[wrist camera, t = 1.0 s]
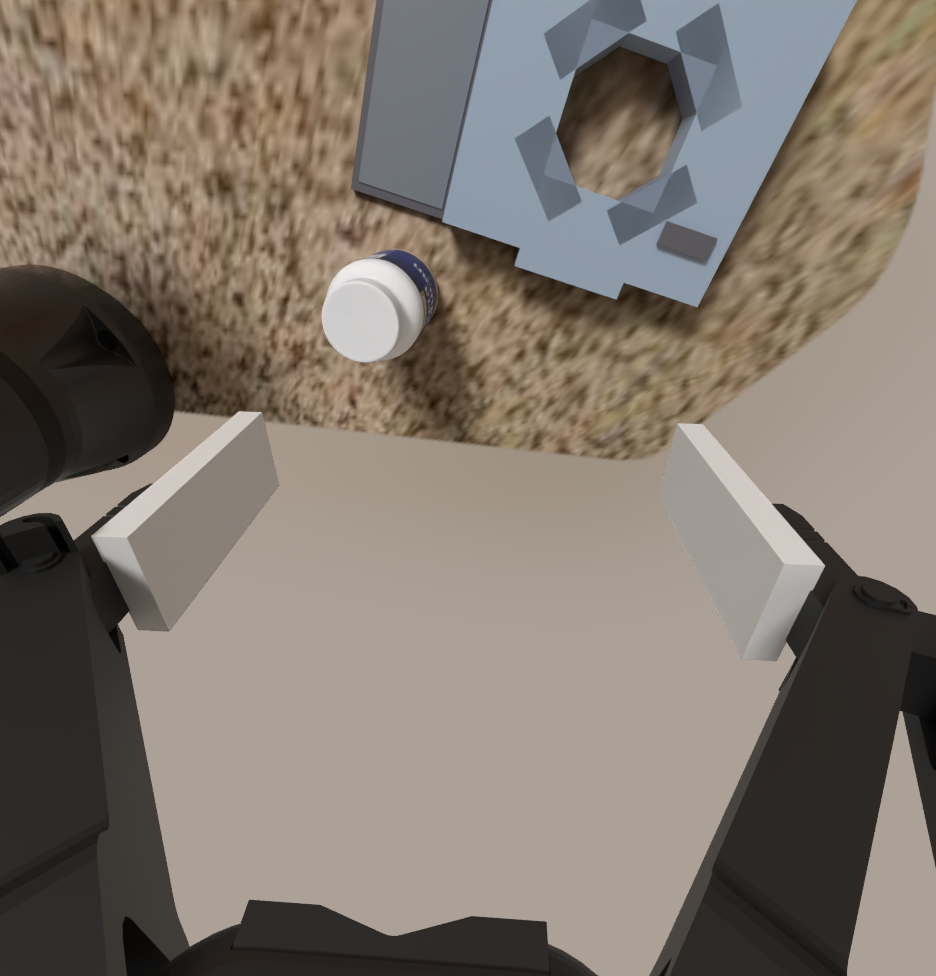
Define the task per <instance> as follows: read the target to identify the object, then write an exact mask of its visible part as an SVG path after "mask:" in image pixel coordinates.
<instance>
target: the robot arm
mask: <svg viewBox="0 0 936 976" xmlns="http://www.w3.org/2000/svg"><path fill="white" fill-rule="evenodd" d="M173 414H174V393H173V387H172V382H171V378H170V375H169V372H168V369H167V367H166V364H165V362H164V360H163V358H162V356H161V354H160V352H159V350H158V348H157V347H156V345H155V343H154V342H153V340H152V339H151V337H150V336H149V335H148V333H147V332H146V331H145V329H144V328H143V327H142V326H141V324H140V323H139V322H138V321H137V320H136V319H135V318H134V316H133V315H132V314H131V313H130V312H129V311H128V310H127V309H126V308H124V307H123V306H122V305H121V304H120V303H119V302H118V301H116V300H115V299H114V298H113V297H111V296H110V295H109V294H107V293H106V292H105V291H103V290H102V289H100V288H99V287H97V286H95V285H94V284H92V283H90V282H88V281H87V280H85V279H83V278H81V277H79V276H76V275H74V274H71V273H69V272H66V271H63V270H60V269H56V268H53V267H48V266H41V265H19V266H12V267H5V268H0V517H1V516H2V515H4V514H6V513H7V512H8V511H10V510H12V509H13V508H15V507H16V506H18V505H20V504H21V503H23V502H24V501H25V500H27V499H29V498H30V497H32V496H33V495H35V494H36V493H38V492H40V491H41V490H43V489H44V488H46V487H48V486H50V485H51V484H53V483H55V482H59V481H64V480H68V479H73V478H77V477H81V476H86V475H90V474H94V473H98V472H102V471H105V470H111V469H115V468H119V467H122V466H125V465H127V464H129V463H132V462H134V461H135V460H137V459H138V458H140V457H141V456H143V455H144V454H146V453H147V452H149V451H150V450H151V449H153V448H154V447H156V446H157V445H158V444H159V443H160V442H161V441H162V440H163V438H164V437H165V436H166V434H167V432H168V430H169V428H170V426H171V423H172V419H173ZM278 486H279V483H278V479H277V474H276V470H275V466H274V461H273V457H272V453H271V449H270V444H269V440H268V436H267V432H266V427H265V423H264V418H263V414H262V412H241V411H239V412H238V413H236V414H235V415H234V416H233V417H232V418H230V419H229V420H228V421H227V422H226V423H225V424H223V425H222V426H221V427H220V428H219V429H217V430H216V431H215V432H214V433H213V434H211V435H210V436H209V437H208V438H207V439H206V440H204V441H203V442H202V443H201V444H200V445H198V446H197V447H196V448H195V449H194V450H193V451H191V452H190V453H189V454H188V455H187V456H185V457H184V458H183V459H182V460H181V461H180V462H178V463H177V464H176V465H175V466H174V467H172V468H171V469H170V470H169V471H168V472H167V473H165V474H164V475H163V476H162V477H161V478H159V479H158V480H157V481H156V482H155V483H153V484H149V485H147V486H145V487H143V488H141V489H139V490H137V491H135V492H133V493H131V494H130V495H129V496H128V497H126V498H125V499H124V500H123V501H122V502H120V503H119V504H118V507H114V508H113V509H112V510H111V511H109V512H108V513H107V514H106V517H105V516H103V517H102V518H101V519H100V520H98V521H97V522H96V523H95V524H93V525H92V526H91V527H90V528H89V529H88V530H86V531H85V532H84V533H82V534H81V535H80V536H79V537H78V538H76V539H75V540H74V541H73V539H72V537H71V535H70V533H69V531H68V530H67V528H66V526H65V524H64V522H63V520H62V519H61V517H60V516H59V515H56V514H52V513H38V514H33V515H28V516H23V517H20V518H17V519H14V520H11V521H8V522H6V523H4V524H2V525H0V976H598V975H596V974H595V973H594V972H593V971H591V970H590V969H589V968H588V967H587V966H585V965H584V964H583V963H582V962H580V961H578V960H577V959H575V958H574V957H572V956H571V955H569V954H567V953H566V952H564V951H562V950H561V949H558V948H556V947H554V946H551V945H549V944H548V941H547V925H546V924H547V923H546V922H543V921H529V920H515V919H501V918H488V917H475V916H471V917H467V918H464V919H460V920H456V921H452V922H448V923H445V924H441V925H437V926H433V927H430V928H426V929H422V930H419V931H415V932H411V933H407V934H403V935H399V936H389V935H386V934H383V933H381V932H379V931H376V930H374V929H372V928H370V927H368V926H365V925H363V924H361V923H359V922H356V921H354V920H352V919H350V918H347V917H346V916H343V915H341V914H339V913H337V912H335V911H332V910H330V909H328V908H326V907H324V906H321V905H312V904H300V903H285V902H272V901H259V900H249V902H248V904H247V907H246V910H245V913H244V916H243V918H242V921H241V924H238V925H235V926H231V927H229V928H227V929H224V930H222V931H219V932H217V933H214V934H212V935H210V936H209V937H207V938H205V939H203V940H201V941H200V942H198V943H196V944H194V945H192V946H191V947H189V944H188V941H187V938H186V936H185V933H184V931H183V928H182V926H181V924H180V921H179V918H178V915H177V911H176V907H175V903H174V898H173V893H172V888H171V883H170V878H169V872H168V867H167V862H166V857H165V852H164V846H163V841H162V835H161V831H160V825H159V820H158V815H157V809H156V804H155V799H154V794H153V788H152V783H151V778H150V773H149V767H148V762H147V757H146V752H145V747H144V741H143V736H142V731H141V726H140V720H139V715H138V710H137V705H136V700H135V694H134V689H133V684H132V679H131V674H130V668H129V663H128V658H127V653H126V648H125V642H124V637H123V634H122V632H121V630H120V628H119V626H118V623H119V622H120V621H121V620H122V619H123V617H124V616H125V615H126V614H127V613H128V612H129V613H130V615H131V617H132V619H133V621H134V623H135V625H136V627H137V629H138V630H150V631H170V630H171V628H172V627H173V626H174V624H175V623H176V622H177V621H178V619H179V618H180V617H181V615H182V614H183V613H184V611H185V610H186V609H187V607H188V606H189V605H190V603H191V602H192V601H193V599H194V598H195V597H196V595H197V594H198V593H199V591H200V590H201V589H202V587H203V586H204V585H205V583H206V582H207V581H208V579H209V578H210V577H211V575H212V574H213V573H214V571H215V570H216V569H217V567H218V566H219V565H220V563H221V562H222V561H223V559H224V558H225V557H226V555H227V554H228V553H229V551H230V550H231V549H232V547H233V546H234V545H235V543H236V542H237V540H238V539H239V538H240V537H241V535H242V534H243V533H244V531H245V530H246V529H247V527H248V526H249V525H250V523H251V522H252V521H253V519H254V518H255V516H256V515H257V514H258V513H259V511H260V510H261V509H262V507H263V506H264V505H265V503H266V502H267V501H268V499H269V498H270V496H271V495H272V494H273V493H274V491H275V490H276V489H277V487H278ZM659 500H660V502H661V504H662V506H663V508H664V510H665V512H666V514H667V516H668V518H669V520H670V522H671V524H672V526H673V528H674V530H675V532H676V533H677V535H678V537H679V539H680V541H681V543H682V545H683V547H684V549H685V551H686V553H687V555H688V557H689V559H690V561H691V562H692V565H693V567H694V568H695V570H696V572H697V574H698V576H699V578H700V580H701V582H702V584H703V586H704V588H705V590H706V592H707V594H708V596H709V598H710V599H711V601H712V603H713V605H714V607H715V609H716V611H717V613H718V615H719V617H720V619H721V621H722V623H723V625H724V627H725V628H726V631H727V632H728V634H729V636H730V638H731V640H732V642H733V644H734V646H735V648H736V650H737V652H738V654H739V656H740V658H741V659H743V660H766V661H777V659H778V657H779V656H780V654H781V652H782V650H783V648H784V646H785V644H786V642H787V643H788V645H789V646H790V648H791V649H792V651H793V652H794V654H795V656H796V659H795V660H794V663H793V665H792V666H791V668H790V670H789V672H788V674H787V675H786V677H785V679H784V681H783V683H782V685H781V687H780V688H779V691H780V692H779V694H778V697H777V699H776V701H775V703H774V705H773V708H772V710H771V712H770V714H769V717H768V719H767V721H766V723H765V725H764V728H763V730H762V732H761V734H760V736H759V738H758V741H757V743H756V745H755V747H754V750H753V752H752V754H751V756H750V758H749V760H748V763H747V765H746V767H745V769H744V771H743V774H742V776H741V778H740V780H739V782H738V785H737V787H736V789H735V792H734V794H733V796H732V798H731V800H730V802H729V805H728V807H727V809H726V811H725V813H724V816H723V818H722V820H721V822H720V825H719V827H718V829H717V831H716V833H715V835H714V838H713V840H712V842H711V845H710V846H709V849H708V851H707V853H706V855H705V857H704V860H703V862H702V864H701V866H700V868H699V871H698V873H697V875H696V877H695V880H694V882H693V884H692V886H691V888H690V890H689V893H688V895H687V897H686V899H685V902H684V904H683V906H682V908H681V910H680V913H679V915H678V917H677V919H676V921H675V923H674V926H673V928H672V930H671V932H670V934H669V937H668V939H667V941H666V943H665V945H664V948H663V950H662V952H661V954H660V956H659V958H658V960H657V962H656V964H655V966H654V968H653V970H652V972H651V973H650V975H649V976H847V966H848V958H849V954H850V949H851V944H852V939H853V934H854V930H855V925H856V920H857V915H858V909H859V905H860V901H861V896H862V890H863V886H864V881H865V876H866V871H867V866H868V861H869V857H870V851H871V847H872V842H873V837H874V832H875V827H876V822H877V818H878V812H879V808H880V803H881V798H882V793H883V789H884V783H885V778H886V774H887V769H888V764H889V759H890V754H891V750H892V744H893V740H894V735H895V730H896V725H897V720H898V715H899V711H903V716H904V720H905V725H906V730H907V735H908V739H909V744H910V748H911V753H912V758H913V763H914V767H915V772H916V777H917V782H918V786H919V791H920V796H921V800H922V804H923V810H924V814H925V819H926V824H927V828H928V833H929V837H930V843H931V847H932V852H933V857H934V861H935V866H936V615H933V614H928V613H924V612H920V611H918V609H917V607H916V605H915V604H914V603H913V602H912V601H911V600H910V598H909V597H907V596H906V595H904V594H903V593H902V592H900V591H899V590H898V589H896V588H894V587H892V586H890V585H888V584H886V583H884V582H881V581H878V580H875V579H871V578H868V577H863V576H862V577H861V576H858V575H857V574H856V573H855V572H854V571H853V570H852V569H851V568H850V567H849V566H848V565H847V564H846V562H845V561H844V560H843V559H842V558H841V557H840V556H839V555H838V554H837V553H836V552H835V551H834V550H833V549H832V547H831V546H830V545H829V544H828V543H825V542H824V539H823V538H822V537H821V536H820V534H819V533H818V532H814V528H813V527H812V526H811V525H810V524H809V523H808V522H807V521H806V520H805V518H804V517H803V516H802V515H800V514H798V513H797V512H795V511H794V510H792V509H790V508H789V507H787V506H785V505H784V504H771V503H770V501H769V500H768V499H767V498H766V497H765V496H764V495H763V494H762V492H761V491H760V490H759V489H758V488H757V487H756V485H755V484H754V483H753V482H752V481H751V480H750V478H749V477H748V476H747V475H746V474H745V473H744V472H743V470H742V469H741V468H740V467H739V466H738V465H737V464H736V462H735V461H734V460H733V459H732V458H731V457H730V456H729V454H728V453H727V452H726V451H725V450H724V449H723V447H722V446H721V445H720V444H719V443H718V442H717V441H716V439H715V438H714V437H713V436H712V435H711V434H710V432H709V431H708V430H707V429H706V428H705V427H704V425H703V424H677V427H676V430H675V434H674V438H673V442H672V446H671V450H670V454H669V458H668V462H667V467H666V470H665V475H664V479H663V483H662V486H661V490H660V494H659Z"/></svg>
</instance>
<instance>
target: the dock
mask: <svg viewBox="0 0 936 976" xmlns="http://www.w3.org/2000/svg"><path fill="white" fill-rule="evenodd" d="M856 1H857V0H493V1H492V6H491V10H490V14H489V19H488V23H487V28H486V32H485V36H484V41H483V45H482V49H481V54H480V58H479V63H478V67H477V71H476V76H475V80H474V84H473V89H472V93H471V98H470V102H469V106H468V111H467V115H466V119H465V124H464V128H463V133H462V137H461V141H460V146H459V150H458V154H457V159H456V163H455V168H454V172H453V176H452V181H451V185H450V189H449V194H448V198H447V203H446V207H445V211H444V216H443V220H442V222H444V223H447V224H450V225H453V226H456V227H459V228H461V229H464V230H467V231H470V232H473V233H476V234H479V235H482V236H485V237H488V238H491V239H494V240H497V241H500V242H503V243H506V244H509V245H512V246H515V247H518V248H519V249H518V252H517V255H516V258H515V266H516V267H519V268H522V269H525V270H528V271H531V272H534V273H537V274H540V275H543V276H546V277H549V278H552V279H555V280H558V281H561V282H564V283H567V284H571V285H574V286H577V287H580V288H583V289H586V290H589V291H592V292H595V293H598V294H601V295H604V296H607V297H610V298H613V299H616V300H617V297H618V295H619V293H620V290H621V288H622V286H623V283H626V284H629V285H632V286H635V287H638V288H641V289H644V290H647V291H650V292H653V293H656V294H659V295H662V296H665V297H668V298H671V299H674V300H677V301H680V302H683V303H686V304H689V305H692V306H695V307H698V305H699V303H700V301H701V299H702V297H703V295H704V293H705V292H706V290H707V288H708V286H709V284H710V282H711V280H712V278H713V276H714V274H715V272H716V270H717V268H718V267H719V265H720V263H721V261H722V259H723V257H724V255H725V253H726V251H727V249H728V247H729V245H730V243H731V242H732V240H733V238H734V236H735V234H736V232H737V230H738V228H739V226H740V224H741V222H742V220H743V218H744V217H745V215H746V213H747V211H748V209H749V207H750V205H751V203H752V201H753V199H754V197H755V195H756V193H757V191H758V190H759V188H760V186H761V184H762V182H763V180H764V178H765V176H766V174H767V172H768V170H769V168H770V166H771V165H772V163H773V161H774V159H775V157H776V155H777V153H778V151H779V149H780V147H781V145H782V143H783V141H784V140H785V138H786V136H787V134H788V132H789V130H790V128H791V126H792V124H793V122H794V120H795V118H796V116H797V114H798V113H799V111H800V109H801V107H802V105H803V103H804V101H805V99H806V97H807V95H808V93H809V91H810V89H811V88H812V86H813V84H814V82H815V80H816V78H817V76H818V74H819V72H820V70H821V68H822V66H823V64H824V63H825V61H826V59H827V57H828V55H829V53H830V51H831V49H832V47H833V45H834V43H835V41H836V39H837V37H838V36H839V34H840V32H841V30H842V28H843V26H844V24H845V22H846V20H847V18H848V16H849V14H850V12H851V11H852V9H853V7H854V5H855V3H856ZM618 47H622V48H625V49H628V50H630V51H633V52H636V53H638V54H641V55H644V56H646V57H649V58H652V59H654V60H657V61H660V62H663V63H665V64H667V66H668V70H669V73H670V77H671V81H672V85H673V88H674V92H675V96H676V99H677V103H678V107H679V110H680V114H681V118H682V122H681V124H680V126H679V129H678V131H677V133H676V136H675V138H674V141H673V143H672V145H671V148H670V150H669V153H668V155H667V157H666V160H665V162H664V164H663V167H662V169H661V172H660V174H659V176H657V177H655V178H654V179H652V180H650V181H648V182H647V183H645V184H643V185H642V186H640V187H638V188H636V189H635V190H633V191H631V192H629V193H628V194H626V195H624V196H623V197H621V198H619V199H617V200H614V199H611V198H608V197H606V196H603V195H600V194H597V193H594V192H591V191H588V190H585V189H583V188H580V187H577V186H576V185H575V182H574V180H573V177H572V174H571V172H570V169H569V166H568V164H567V161H566V158H565V156H564V153H563V150H562V148H561V145H560V142H559V140H558V137H557V134H556V131H557V128H558V125H559V122H560V119H561V115H562V112H563V109H564V106H565V103H566V99H567V96H568V93H569V90H570V87H571V83H572V80H573V78H574V77H575V76H577V75H578V74H580V73H581V72H583V71H584V70H586V69H587V68H589V67H590V66H592V65H593V64H595V63H596V62H598V61H599V60H601V59H602V58H603V57H605V56H606V55H608V54H609V53H611V52H612V51H614V50H615V49H617V48H618Z"/></svg>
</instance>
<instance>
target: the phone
mask: <svg viewBox="0 0 936 976" xmlns="http://www.w3.org/2000/svg"><path fill="white" fill-rule="evenodd" d="M492 1H493V0H377V1H376V8H375V16H374V23H373V31H372V38H371V45H370V53H369V60H368V67H367V75H366V82H365V90H364V97H363V104H362V112H361V119H360V126H359V134H358V141H357V149H356V156H355V163H354V171H353V178H352V186H351V189H353V190H356V191H359V192H362V193H365V194H368V195H371V196H374V197H377V198H380V199H383V200H386V201H389V202H392V203H395V204H398V205H401V206H404V207H407V208H410V209H413V210H416V211H419V212H422V213H425V214H428V215H431V216H434V217H437V218H440V219H443V216H444V211H445V207H446V203H447V198H448V194H449V189H450V185H451V181H452V176H453V172H454V168H455V163H456V159H457V154H458V150H459V146H460V141H461V137H462V133H463V128H464V124H465V119H466V115H467V111H468V106H469V102H470V98H471V93H472V89H473V84H474V80H475V76H476V71H477V67H478V63H479V58H480V54H481V49H482V45H483V41H484V36H485V32H486V28H487V23H488V19H489V14H490V10H491V6H492Z"/></svg>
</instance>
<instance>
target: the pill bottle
mask: <svg viewBox="0 0 936 976" xmlns="http://www.w3.org/2000/svg"><path fill="white" fill-rule="evenodd" d="M437 302H438V289H437V284H436V281H435V278H434V275H433V273H432V272H431V270H430V269H429V267H428V266H427V264H426V263H425V262H424V261H423V260H422V259H421V258H419V257H418V256H416V255H415V254H413V253H411V252H409V251H406V250H401V249H389V250H384V251H381V252H378V253H376V254H373V255H371V256H368V257H366V258H363V259H360V260H357V261H355V262H353V263H351V264H349V265H347V266H345V267H344V268H343V269H342V270H340V271H339V273H337V275H336V276H335V277H334V279H333V280H332V282H331V284H330V286H329V289H328V292H327V298H326V300H325V302H324V305H323V310H322V325H323V329H324V332H325V334H326V337H327V339H328V340H329V342H330V343H331V345H332V346H333V347H334V348H335V349H336V350H337V351H338V352H339V353H340V354H342V355H343V356H344V357H346V358H348V359H351V360H353V361H357V362H364V363H368V362H374V361H384V360H390V359H393V358H396V357H398V356H400V355H401V354H403V353H404V352H406V351H407V350H408V349H409V348H410V347H411V346H412V345H413V343H414V342H415V341H416V339H417V338H418V337H419V335H420V334H421V332H422V331H423V330H424V328H425V327H426V325H427V324H428V323H429V322H430V320H431V318H432V317H433V315H434V312H435V310H436V307H437Z"/></svg>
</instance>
